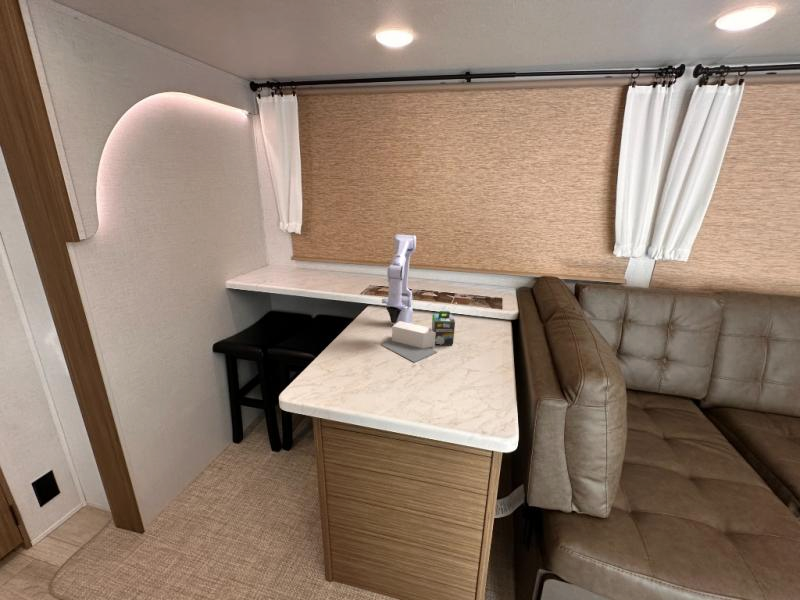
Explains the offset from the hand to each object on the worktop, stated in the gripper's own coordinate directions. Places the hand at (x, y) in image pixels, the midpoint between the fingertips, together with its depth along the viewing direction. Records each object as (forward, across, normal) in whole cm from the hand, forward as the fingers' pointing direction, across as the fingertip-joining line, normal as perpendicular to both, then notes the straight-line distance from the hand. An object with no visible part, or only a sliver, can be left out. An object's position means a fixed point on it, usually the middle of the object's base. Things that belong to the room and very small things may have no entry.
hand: (393, 322), depth 154 cm
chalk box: (+9, +14, +17) cm, 24 cm away
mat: (+9, +10, 0) cm, 13 cm away
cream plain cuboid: (+5, -1, +2) cm, 6 cm away
